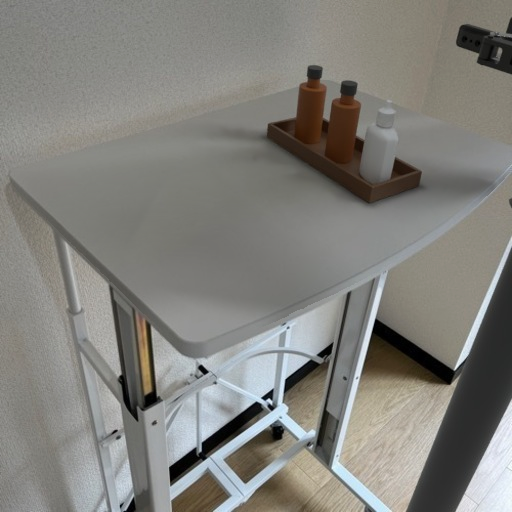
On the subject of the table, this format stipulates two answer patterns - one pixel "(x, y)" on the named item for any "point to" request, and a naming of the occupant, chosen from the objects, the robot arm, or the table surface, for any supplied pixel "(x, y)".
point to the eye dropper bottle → (379, 147)
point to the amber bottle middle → (343, 124)
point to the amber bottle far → (310, 107)
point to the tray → (344, 172)
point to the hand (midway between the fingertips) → (485, 29)
